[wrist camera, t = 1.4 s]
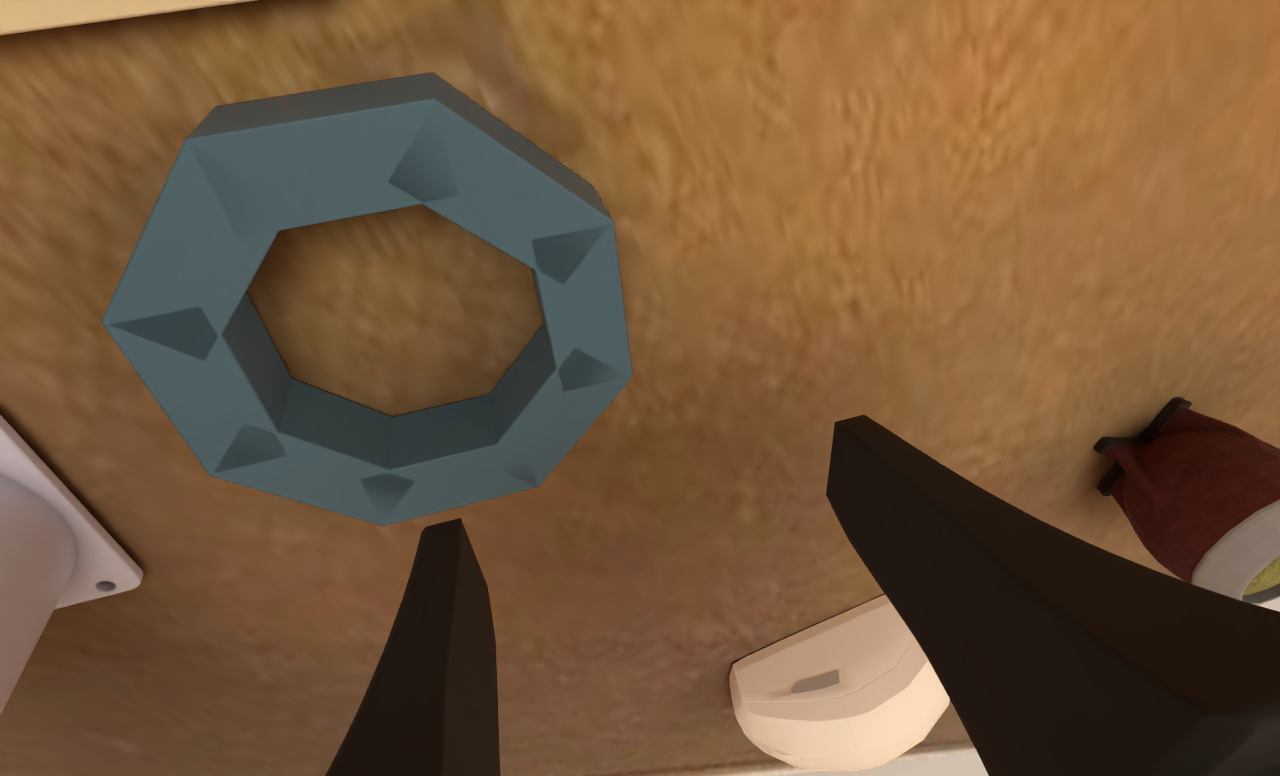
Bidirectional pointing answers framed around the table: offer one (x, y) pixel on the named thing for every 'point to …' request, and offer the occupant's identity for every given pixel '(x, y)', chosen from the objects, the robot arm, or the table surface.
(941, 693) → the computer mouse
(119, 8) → the peg stand
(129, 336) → the ring
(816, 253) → the table surface
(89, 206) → the table surface
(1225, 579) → the mate gourd
